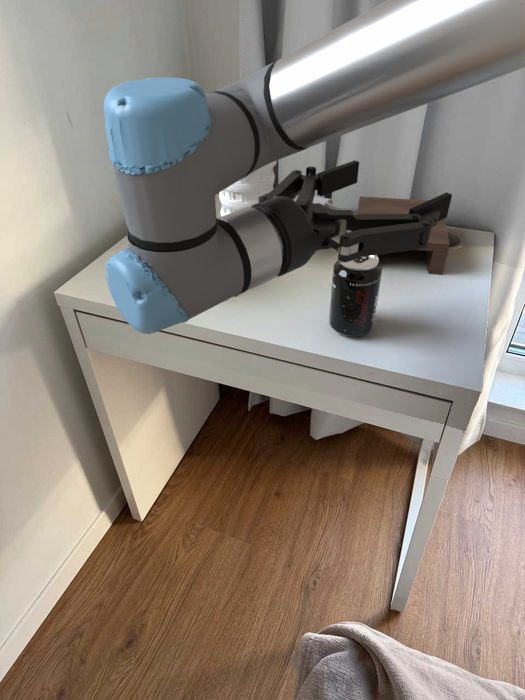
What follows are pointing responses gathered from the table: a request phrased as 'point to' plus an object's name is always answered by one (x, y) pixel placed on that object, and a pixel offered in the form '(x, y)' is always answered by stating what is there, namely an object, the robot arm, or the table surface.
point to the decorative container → (247, 190)
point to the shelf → (376, 205)
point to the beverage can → (355, 295)
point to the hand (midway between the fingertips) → (398, 187)
